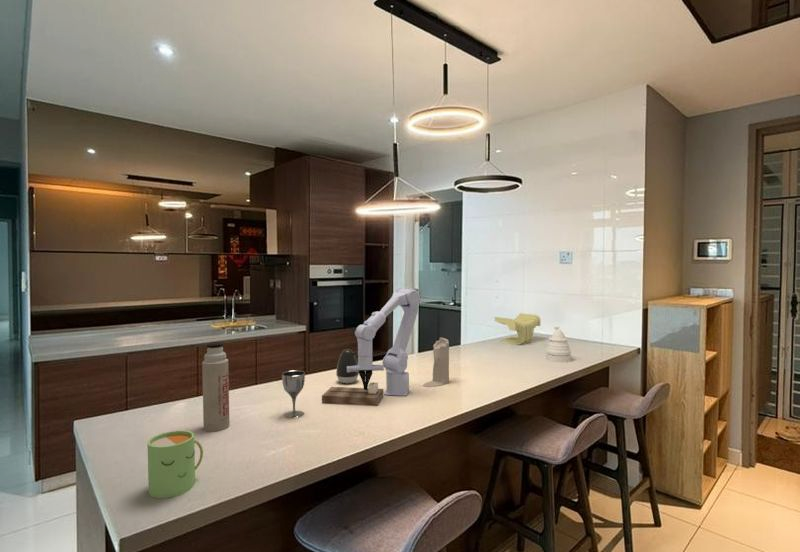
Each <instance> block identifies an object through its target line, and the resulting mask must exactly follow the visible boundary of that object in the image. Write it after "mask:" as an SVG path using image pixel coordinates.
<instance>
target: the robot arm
mask: <svg viewBox="0 0 800 552" xmlns="http://www.w3.org/2000/svg"><path fill="white" fill-rule="evenodd" d="M420 300H421V296H420V294H419V292H418V291H417V289H415V288H411V289H410V288H402V287H400V288H397V289H396V290H395V291H394V292H393V293H392V295H391V297H390V299H388V301H387V302H386V303H385V305H384V306H383V307H381V309H380V311H379V310H378V311H372V313H371V316H370V317H368V319H367V320H364V322H363V324H359V325H358V326H357V327H356V328H355V331H354V335H355V337H356V339H357V351H358V354H357V363H358V365H356V366H347V372H357V371H359V375H358V376H359V377H360V380H361V381H362V385H363V388H364V390H367V388H368V385H369V384H370V380H371V378H372V376H373V372H374V371H376V372H378V371H382V372H384V371H385V372H386V373H385V374H386V376H385V377H386V381H385V382H386V385H385V387H386V389H385V391H384V392H383V396H401V397H402V396H405V397H406V396H408V395H409V392H410V374H409V372H408V371H406V370H407V368H408V360H409V356H408V354H407V352H406V351H407V350H406V349H407V346H408V344H409V341H410V338H411V336H412V335H411V334H412V332H413V328H414V325H415V322H416V320H417V319H416V318H417V315H418V312H419V303H420ZM398 306H400V307H401V308H402V311H403V316H402V318H401V321H400V325H399V328H398V331H397V333H396V336H395V339H394V342H393V345H392V347H390V349H388V350H387V352H386V354H385V356H384V357H383V359H382V364H373V339H374V338H375V336H376V333H377V332H378V330H379V329H380V328H381V327H382V326H383V325H384V323H386V320H387V319H386V318H387V317H388V316H389V315H390V314H391V313H392V312H393V311H395V309H397V308H398Z"/></svg>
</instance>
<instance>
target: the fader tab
mask: <svg viewBox="0 0 800 552" xmlns="http://www.w3.org/2000/svg"><path fill="white" fill-rule="evenodd" d="M378 389H379V382H369V383H368V393H371V394H376V393H377V391H378Z"/></svg>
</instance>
